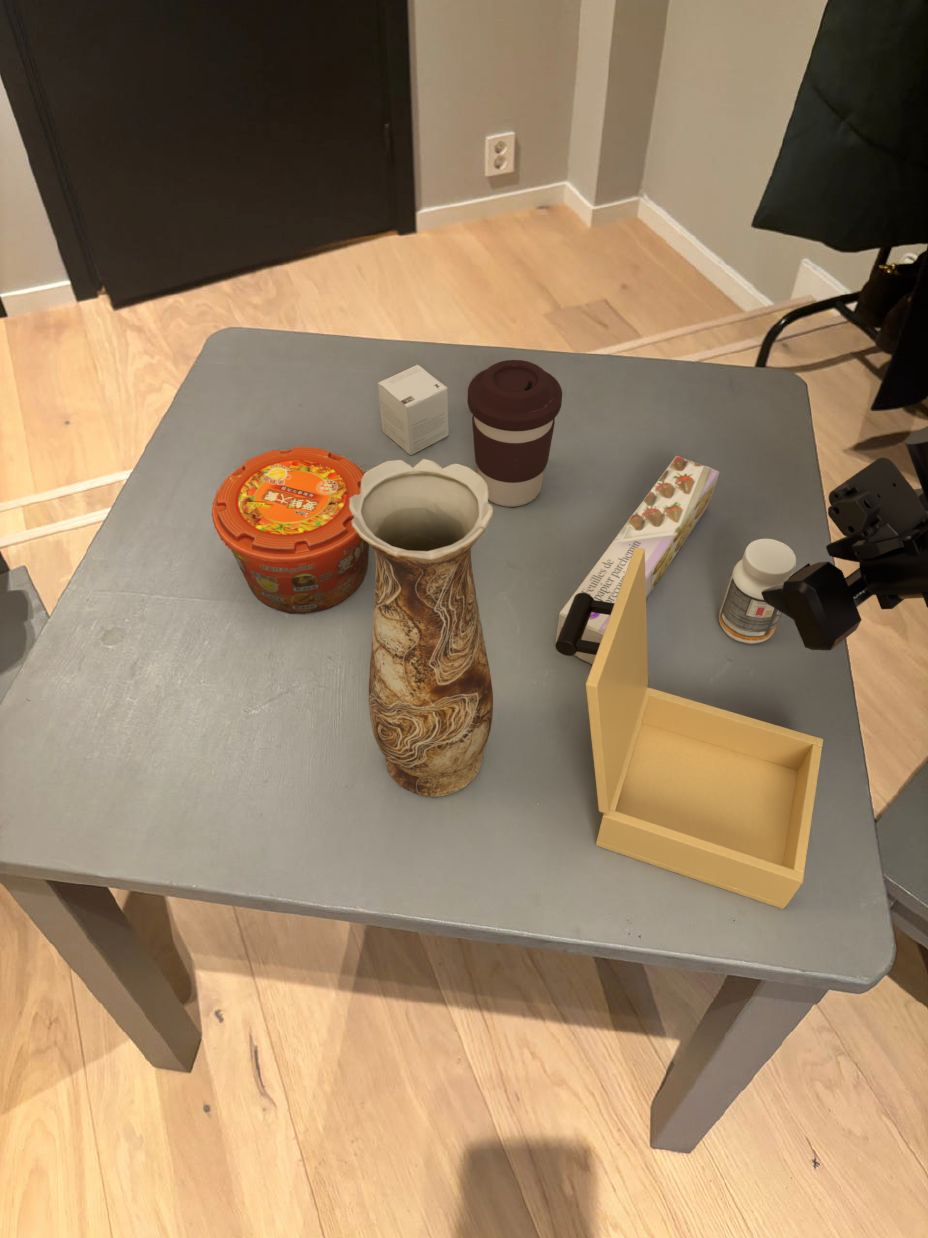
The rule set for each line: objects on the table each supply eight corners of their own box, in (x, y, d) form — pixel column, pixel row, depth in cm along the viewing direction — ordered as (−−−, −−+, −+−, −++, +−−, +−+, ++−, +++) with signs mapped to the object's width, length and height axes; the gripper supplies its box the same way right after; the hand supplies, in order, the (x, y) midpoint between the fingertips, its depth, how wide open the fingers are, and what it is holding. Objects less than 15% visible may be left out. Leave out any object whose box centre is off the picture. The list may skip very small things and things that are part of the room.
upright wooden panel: (645, 548, 67) (588, 540, 69) (597, 686, 59) (533, 674, 61) (648, 683, 79) (599, 674, 81) (608, 814, 71) (555, 801, 72)
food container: (217, 625, 91) (192, 551, 82) (246, 515, 101) (227, 439, 93) (374, 629, 90) (365, 555, 82) (388, 518, 101) (381, 443, 92)
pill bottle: (779, 646, 89) (809, 578, 81) (721, 645, 89) (745, 578, 81) (768, 603, 93) (795, 534, 85) (712, 602, 93) (735, 533, 85)
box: (600, 670, 87) (607, 634, 83) (552, 647, 89) (557, 610, 85) (710, 507, 102) (721, 469, 98) (667, 490, 104) (676, 452, 99)
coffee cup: (450, 481, 105) (448, 371, 93) (516, 448, 108) (522, 339, 97) (502, 529, 100) (508, 419, 88) (570, 493, 103) (583, 383, 92)
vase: (376, 806, 78) (339, 570, 55) (375, 705, 84) (342, 456, 62) (496, 799, 78) (509, 561, 55) (485, 698, 85) (493, 450, 62)
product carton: (420, 412, 113) (417, 362, 107) (450, 436, 110) (449, 386, 104) (380, 431, 111) (376, 381, 105) (410, 457, 107) (407, 406, 102)
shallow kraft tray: (805, 770, 80) (823, 738, 76) (783, 910, 72) (803, 882, 68) (634, 718, 84) (643, 685, 79) (595, 845, 75) (602, 815, 71)
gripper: (990, 412, 70) (829, 450, 84) (842, 515, 62) (692, 538, 76) (1035, 540, 72) (870, 557, 86) (897, 654, 65) (741, 652, 79)
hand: (796, 572), depth 82 cm, fingers open, 9 cm apart
